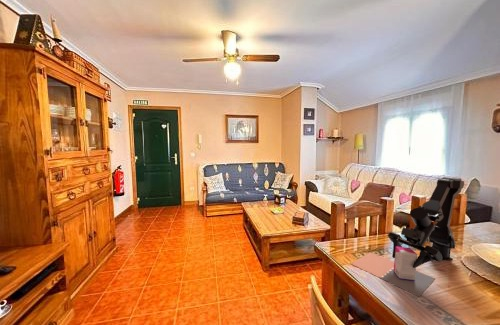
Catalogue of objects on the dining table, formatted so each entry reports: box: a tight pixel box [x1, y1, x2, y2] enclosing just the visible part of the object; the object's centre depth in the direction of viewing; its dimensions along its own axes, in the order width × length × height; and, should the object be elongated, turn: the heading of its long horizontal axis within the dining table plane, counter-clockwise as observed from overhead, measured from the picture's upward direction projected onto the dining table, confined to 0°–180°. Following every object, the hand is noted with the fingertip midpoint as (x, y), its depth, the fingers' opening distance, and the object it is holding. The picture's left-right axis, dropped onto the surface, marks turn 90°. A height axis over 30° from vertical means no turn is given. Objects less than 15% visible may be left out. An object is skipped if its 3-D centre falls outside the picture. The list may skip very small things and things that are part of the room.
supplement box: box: [393, 246, 418, 281], centre depth 90 cm, size 6×6×12 cm
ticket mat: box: [350, 252, 436, 298], centre depth 95 cm, size 26×18×1 cm
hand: (402, 262), depth 89 cm, fingers closed on supplement box, 8 cm apart
